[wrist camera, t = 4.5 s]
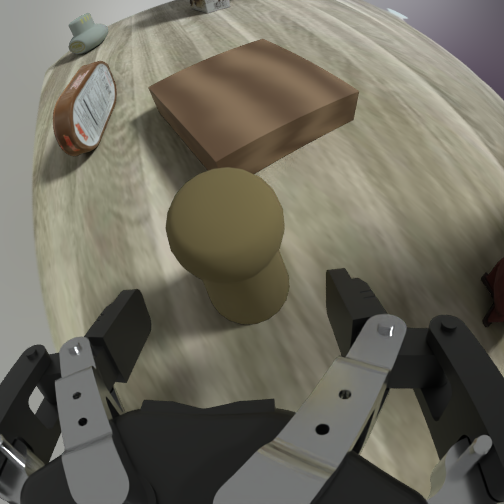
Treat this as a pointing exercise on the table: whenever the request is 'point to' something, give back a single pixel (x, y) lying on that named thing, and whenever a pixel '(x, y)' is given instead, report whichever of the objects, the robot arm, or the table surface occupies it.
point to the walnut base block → (252, 105)
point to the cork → (231, 242)
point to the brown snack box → (209, 5)
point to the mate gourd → (495, 293)
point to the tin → (84, 109)
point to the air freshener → (86, 34)
